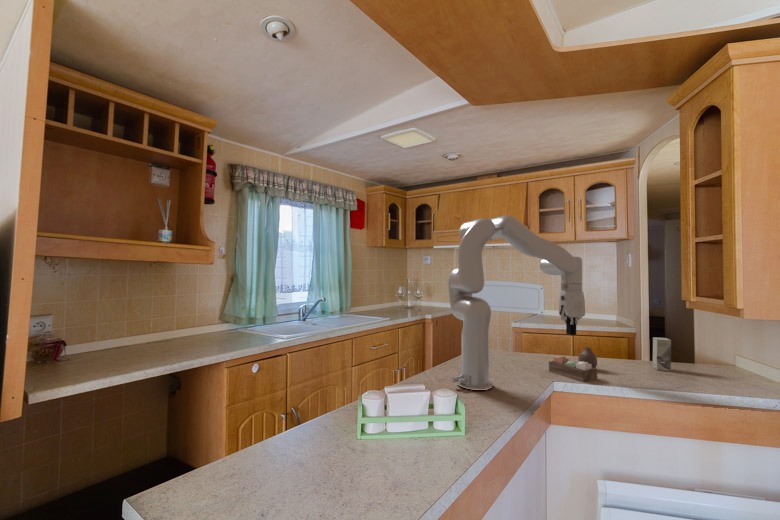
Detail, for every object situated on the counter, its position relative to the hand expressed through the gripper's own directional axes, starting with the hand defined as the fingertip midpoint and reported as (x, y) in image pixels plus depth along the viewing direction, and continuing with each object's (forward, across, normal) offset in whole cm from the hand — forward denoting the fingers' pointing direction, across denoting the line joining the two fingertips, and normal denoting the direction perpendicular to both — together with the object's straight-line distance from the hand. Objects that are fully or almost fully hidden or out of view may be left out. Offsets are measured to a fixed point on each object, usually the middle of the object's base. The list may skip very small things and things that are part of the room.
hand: (571, 334), depth 141 cm
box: (+16, +40, -12) cm, 45 cm away
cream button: (+13, 0, -5) cm, 14 cm away
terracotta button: (+13, 0, +5) cm, 14 cm away
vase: (+16, +14, +2) cm, 21 cm away
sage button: (+14, 0, 0) cm, 14 cm away
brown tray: (+16, 0, 0) cm, 16 cm away
